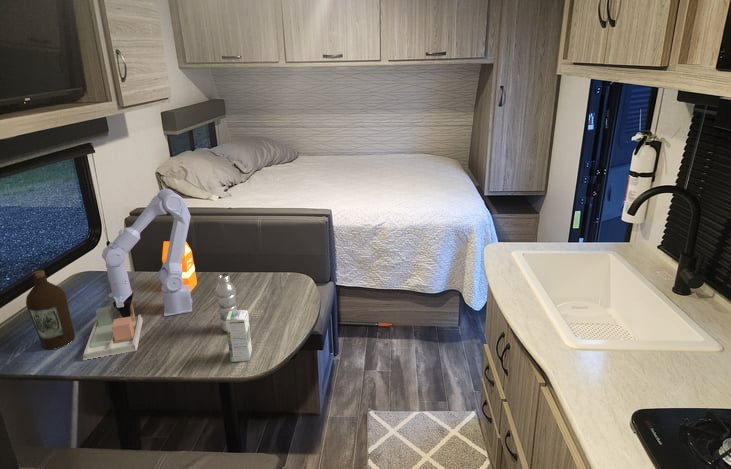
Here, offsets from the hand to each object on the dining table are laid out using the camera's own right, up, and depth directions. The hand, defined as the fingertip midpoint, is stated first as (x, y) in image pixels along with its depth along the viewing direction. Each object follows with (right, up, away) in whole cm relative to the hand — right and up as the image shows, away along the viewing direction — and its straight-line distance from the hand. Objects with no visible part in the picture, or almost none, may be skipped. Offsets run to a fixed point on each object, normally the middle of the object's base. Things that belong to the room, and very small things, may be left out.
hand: (127, 316), depth 163 cm
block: (+3, -5, -9) cm, 10 cm away
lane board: (0, -6, -7) cm, 9 cm away
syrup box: (+44, -9, -18) cm, 48 cm away
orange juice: (+9, +7, +26) cm, 29 cm away
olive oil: (-19, -7, -8) cm, 21 cm away
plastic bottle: (+37, -4, -3) cm, 37 cm away
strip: (-4, -5, -6) cm, 9 cm away
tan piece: (+2, -4, -4) cm, 6 cm away
